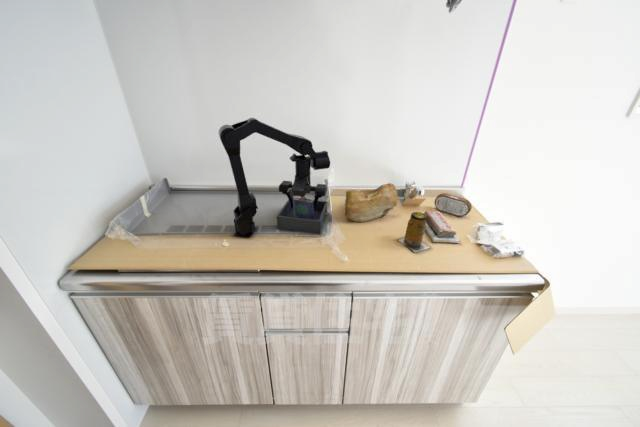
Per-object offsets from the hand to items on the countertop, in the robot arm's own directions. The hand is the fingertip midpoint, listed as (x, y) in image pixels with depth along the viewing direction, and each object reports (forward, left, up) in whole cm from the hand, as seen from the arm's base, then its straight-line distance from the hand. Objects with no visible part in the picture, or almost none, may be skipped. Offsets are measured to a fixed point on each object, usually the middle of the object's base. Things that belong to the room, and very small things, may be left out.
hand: (303, 207), depth 100 cm
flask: (0, 0, -5) cm, 5 cm away
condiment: (+44, -8, -7) cm, 45 cm away
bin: (0, 0, -6) cm, 6 cm away
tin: (+64, +21, -7) cm, 68 cm away
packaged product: (+55, +4, -7) cm, 55 cm away
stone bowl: (+26, +12, -7) cm, 29 cm away
